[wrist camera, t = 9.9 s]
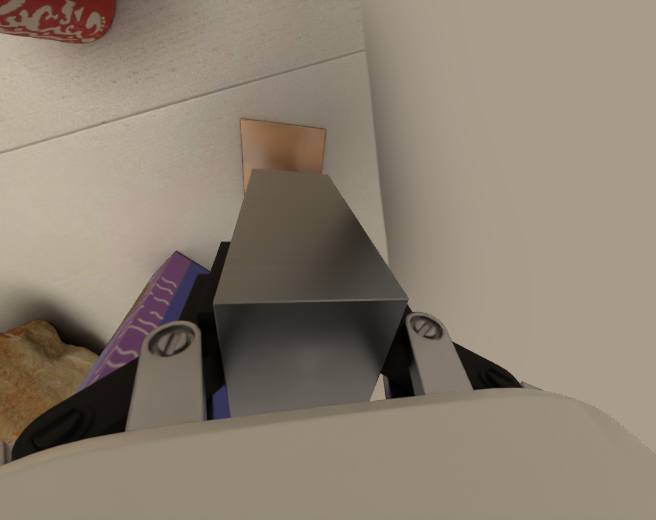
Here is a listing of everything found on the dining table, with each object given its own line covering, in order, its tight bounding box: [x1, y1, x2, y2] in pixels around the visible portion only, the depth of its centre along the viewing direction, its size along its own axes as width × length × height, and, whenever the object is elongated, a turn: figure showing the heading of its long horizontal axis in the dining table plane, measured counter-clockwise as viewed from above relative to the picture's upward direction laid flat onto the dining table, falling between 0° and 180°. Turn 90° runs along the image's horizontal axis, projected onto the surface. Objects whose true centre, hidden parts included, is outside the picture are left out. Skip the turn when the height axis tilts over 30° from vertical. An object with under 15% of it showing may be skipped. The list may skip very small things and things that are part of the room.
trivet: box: [240, 118, 326, 196], centre depth 26 cm, size 8×8×1 cm
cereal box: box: [75, 251, 230, 420], centre depth 25 cm, size 17×5×24 cm, turn 41°
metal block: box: [213, 168, 409, 418], centre depth 12 cm, size 6×4×12 cm
